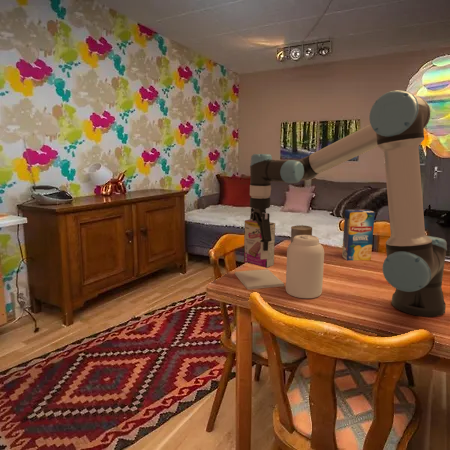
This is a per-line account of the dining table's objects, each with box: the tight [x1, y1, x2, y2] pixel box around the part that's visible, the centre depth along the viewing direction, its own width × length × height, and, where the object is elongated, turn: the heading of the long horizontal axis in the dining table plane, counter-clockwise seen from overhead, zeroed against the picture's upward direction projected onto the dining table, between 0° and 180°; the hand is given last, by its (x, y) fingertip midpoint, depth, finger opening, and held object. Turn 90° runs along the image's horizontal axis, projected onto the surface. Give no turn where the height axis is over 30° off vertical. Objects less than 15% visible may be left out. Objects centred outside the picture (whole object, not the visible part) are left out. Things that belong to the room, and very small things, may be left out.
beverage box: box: [341, 209, 376, 262], centre depth 168 cm, size 7×11×22 cm, turn 91°
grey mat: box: [234, 268, 285, 290], centre depth 141 cm, size 17×14×1 cm
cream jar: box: [285, 234, 325, 299], centre depth 127 cm, size 12×12×20 cm
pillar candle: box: [290, 224, 313, 243], centre depth 172 cm, size 10×10×15 cm
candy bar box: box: [243, 218, 276, 269], centre depth 139 cm, size 11×5×16 cm, turn 47°
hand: (258, 254), depth 140 cm, fingers closed on candy bar box, 12 cm apart
